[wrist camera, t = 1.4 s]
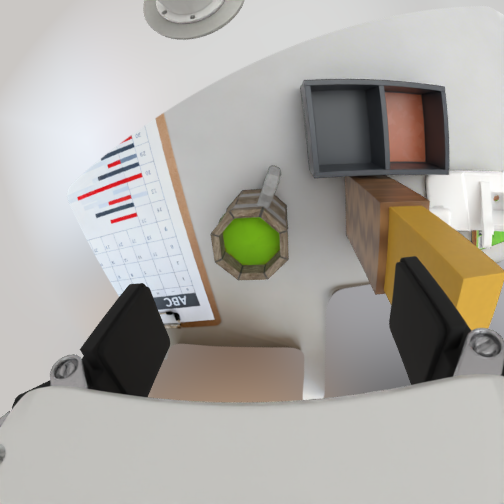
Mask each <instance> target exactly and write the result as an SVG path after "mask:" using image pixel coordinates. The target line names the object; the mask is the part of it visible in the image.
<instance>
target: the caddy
mask: <svg viewBox="0 0 504 504" xmlns="http://www.w3.org/2000/svg"><path fill="white" fill-rule="evenodd" d="M300 89H301V96H302V104H303V112H304V121H305V129H306V139H307V148H308V159H309V170H310V171H311V173H312V175H313V176H314V178H325V177H343V176H367V175H449V131H448V115H447V104H446V94H445V87H443V86H437V85H429V84H421V83H412V82H402V81H389V80H369V79H321V80H304V81H303V83H302V85H301V88H300Z"/></svg>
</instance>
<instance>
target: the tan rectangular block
mask: <svg viewBox="0 0 504 504" xmlns="http://www.w3.org/2000/svg"><path fill="white" fill-rule="evenodd" d="M345 197H346V236H347V237H348V239H349V241H350V243H351V245H352V247H353V249H354V251H355V253H356V255H357V257H358V259H359V261H360V263H361V265H362V267H363V269H364V271H365V273H366V276H367V278H368V280H369V282H370V284H371V286H372V288H373V290H374V292H375V294H385V292H384V284H385V274H386V262H387V249H388V231H389V207H399V206H423V207H425V208H426V209H428V210H429V206H430V201H429V200H428V199H426V198H424V197H423V196H421V195H420V194H418V193H416V192H415V191H413V190H411V189H409V188H408V187H406V186H404V185H403V184H401V183H399V182H397V181H395V180H394V179H392V178H390V177H388V176H386V175H367V176H345Z"/></svg>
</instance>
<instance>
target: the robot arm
mask: <svg viewBox="0 0 504 504" xmlns="http://www.w3.org/2000/svg"><path fill="white" fill-rule="evenodd" d="M224 1H225V0H156V7H157V10H158V12H159V13H160V14H161V16H162V17H164V18H165V19H167V20H169V21H170V22H174V23H179V24H188V23H194V22H198V21H200V20H203V19H205V18H207V17H209V16H211V15H212V14H213V13H215V12H216V11H217V10H218V9H219V8H220V7H221V6H222V4H223V3H224ZM193 18H194V19H193ZM389 322H390V323H389V324H390V330H391V333H392V335H393V338H394V340H395V343H396V345H397V348H398V350H399V353H400V356H401V358H402V361H403V363H404V366H405V369H406V372H407V374H408V377H409V380H410V383H411V385H409V386H404V387H399V388H393V389H387V390H381V391H375V392H369V393H363V394H356V395H349V396H341V397H332V398H323V399H312V400H299V401H283V402H252V403H230V402H229V403H228V402H199V401H181V400H169V399H158V398H149V397H148V394H149V392H150V390H151V388H152V385H153V383H154V380H155V378H156V376H157V374H158V371H159V369H160V367H161V364H162V362H163V360H164V358H165V355H166V353H167V351H168V349H169V346H170V339H169V336H168V334H167V331H166V329H165V327H164V324H163V322H162V319H161V317H160V314H159V312H158V309H157V307H156V304H155V301H154V299H153V296H152V294H151V291H150V289H149V287H146V286H145V284H143V283H140V284H130V285H129V286H128V287H127V288H126V289H125V291H124V292H123V293H122V294H121V296H120V297H119V298H118V299H117V301H116V302H115V303H114V305H113V306H112V307H111V309H110V310H109V311H108V312H107V314H106V315H105V316H104V318H103V319H102V320H101V322H100V323H99V324H98V326H97V327H96V328H95V330H94V331H93V333H92V334H91V335H90V336H89V338H88V339H87V341H86V342H85V343H84V345H83V346H82V347H81V349H80V350H81V352H82V354H83V355H84V357H83V358H82V359H81V357H79V356H78V355H74V354H73V355H67V356H65V357H63V358H61V359H60V360H58V361H57V362H56V363H55V364H54V365H53V367H52V369H51V372H50V381H48V382H46V383H43V384H42V385H39V386H37V387H36V388H33V389H31V390H29V391H27V392H25V393H23V394H20V395H19V396H18V397H17V398H16V399H15V402H14V404H13V406H12V410H11V412H10V411H9V412H7V413H6V414H5V415H4V416H2V417H1V418H0V504H504V340H503V338H502V337H501V336H500V335H499V334H498V333H497V332H495V331H493V330H491V329H488V328H476V329H474V330H472V331H471V329H470V328H469V326H468V325H467V323H466V322H465V320H464V319H463V317H462V316H461V314H460V313H459V312H458V310H457V309H456V307H455V306H454V305H453V303H452V302H451V300H450V299H449V298H448V296H447V295H446V294H445V292H444V291H443V290H442V288H441V287H440V286H439V284H438V283H437V282H436V280H435V279H434V278H433V277H432V275H431V274H430V273H429V271H428V270H427V269H426V268H425V266H424V265H423V264H422V263H421V262H420V260H419V259H418V258H417V257H416V256H412V257H404V258H401V259H400V262H397V263H396V266H395V277H394V288H393V297H392V306H391V313H390V321H389Z"/></svg>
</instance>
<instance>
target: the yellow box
mask: <svg viewBox="0 0 504 504" xmlns="http://www.w3.org/2000/svg"><path fill="white" fill-rule="evenodd" d="M412 256H416V257H417V258H418V259H419V260H420V262H421V263H422V264H423V265H424V266H425V268H426V269H427V270H428V271H429V273H430V274H431V275H432V277H433V278H434V279H435V280H436V282H437V283H438V284H439V286H440V287H441V288H442V290H443V291H444V292H445V294H446V295H447V296H448V298H449V299H450V300H451V302H452V303H453V305H454V306H455V307H456V309H457V310H458V312H459V313H460V314H461V316H462V317H463V319H464V320H465V322H466V323H467V325H468V326H469V328H470V329H471V331H472V330H474V329H476V328H489V325H490V322H491V320H492V317H493V314H494V311H495V308H496V305H497V302H498V299H499V295H500V292H501V289H502V285H503V282H504V270H503V269H502V268H501V267H500V266H499V265H498V264H496V263H495V262H494V261H493V260H492V259H491V258H490V257H488V256H487V255H486V254H485V253H484V252H482V251H481V250H480V249H479V248H478V247H476V246H475V245H474V244H473V243H471V242H470V241H469V240H468V239H466V238H465V237H464V236H463V235H461V234H460V233H459V232H458V231H456V230H455V229H454V228H452V227H451V226H450V225H448V224H447V223H446V222H444V221H443V220H442V219H440V218H439V217H437V216H436V215H435V214H433V213H432V212H430V211H429V210H428V209H426V208H425V207H423V206H399V207H389V231H388V249H387V262H386V274H385V284H384V292H385V294H386V295H387V297H388V300H389V302H390V303H391V305H392V297H393V288H394V277H395V266H396V263H397V262H400V259H401V258H404V257H412Z"/></svg>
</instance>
